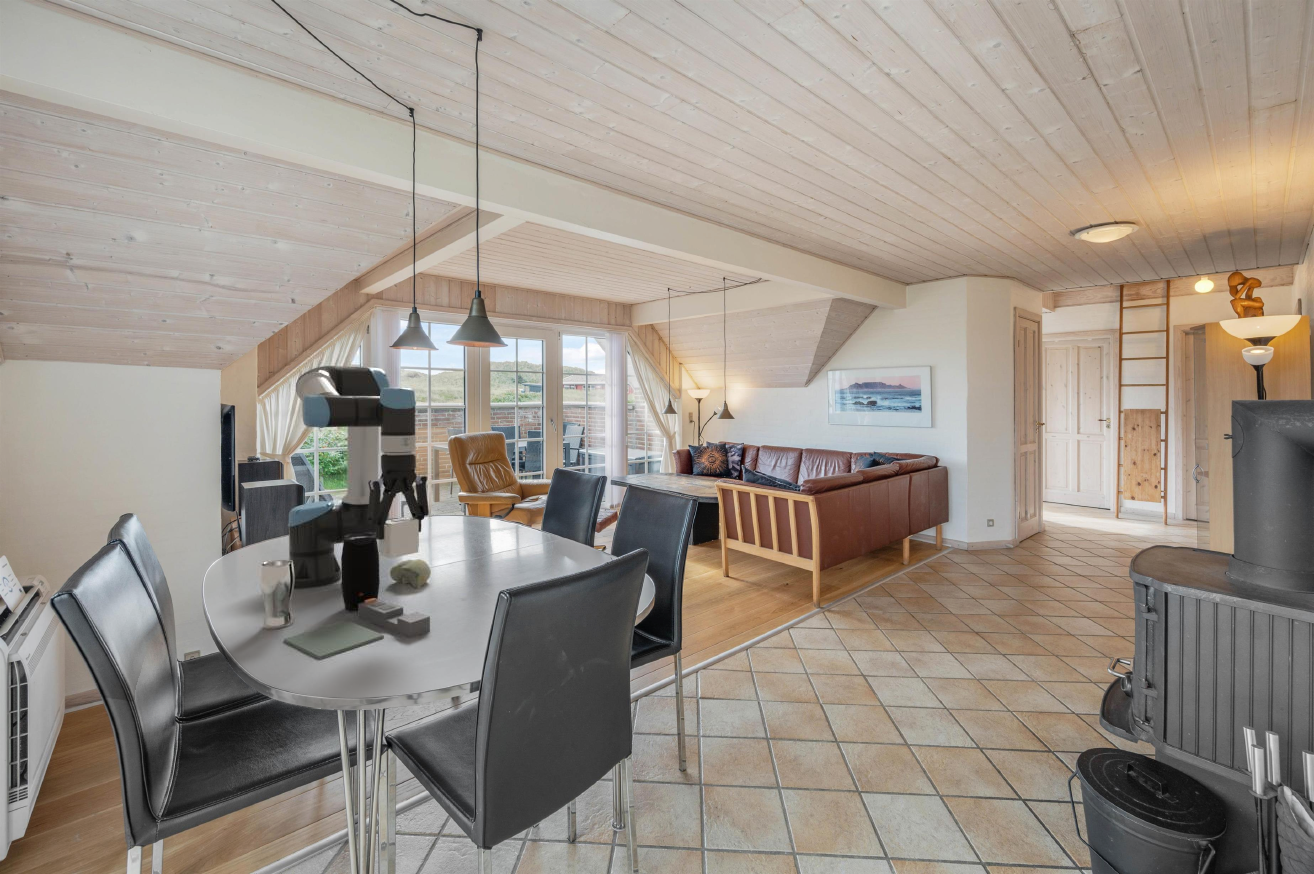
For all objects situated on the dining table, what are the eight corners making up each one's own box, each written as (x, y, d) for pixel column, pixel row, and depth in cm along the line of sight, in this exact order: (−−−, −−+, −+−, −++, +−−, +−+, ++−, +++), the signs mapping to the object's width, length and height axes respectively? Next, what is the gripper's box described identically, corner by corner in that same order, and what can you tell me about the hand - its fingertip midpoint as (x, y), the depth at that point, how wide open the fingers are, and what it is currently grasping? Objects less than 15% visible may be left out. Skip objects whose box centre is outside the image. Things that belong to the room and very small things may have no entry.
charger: (380, 555, 136) (379, 520, 136) (407, 549, 142) (407, 516, 142) (391, 558, 134) (390, 523, 134) (418, 552, 140) (418, 518, 139)
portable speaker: (372, 612, 149) (371, 538, 148) (335, 612, 148) (334, 538, 147) (385, 601, 157) (384, 531, 156) (350, 601, 156) (348, 531, 155)
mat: (283, 641, 130) (283, 638, 130) (346, 622, 141) (346, 620, 141) (319, 659, 121) (319, 656, 121) (383, 637, 132) (383, 635, 132)
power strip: (358, 617, 145) (358, 601, 144) (377, 611, 149) (377, 596, 149) (410, 637, 132) (410, 620, 132) (430, 630, 136) (429, 613, 136)
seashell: (383, 560, 172) (414, 549, 180) (385, 584, 173) (416, 573, 181) (408, 571, 164) (439, 559, 172) (410, 597, 166) (441, 584, 174)
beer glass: (269, 632, 135) (268, 568, 134) (255, 625, 138) (253, 563, 138) (301, 622, 141) (300, 561, 140) (286, 617, 144) (285, 557, 144)
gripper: (366, 456, 127) (367, 560, 128) (444, 451, 143) (445, 543, 144) (347, 455, 131) (349, 555, 132) (426, 450, 147) (427, 539, 148)
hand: (399, 549), depth 138 cm, fingers closed on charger, 7 cm apart
